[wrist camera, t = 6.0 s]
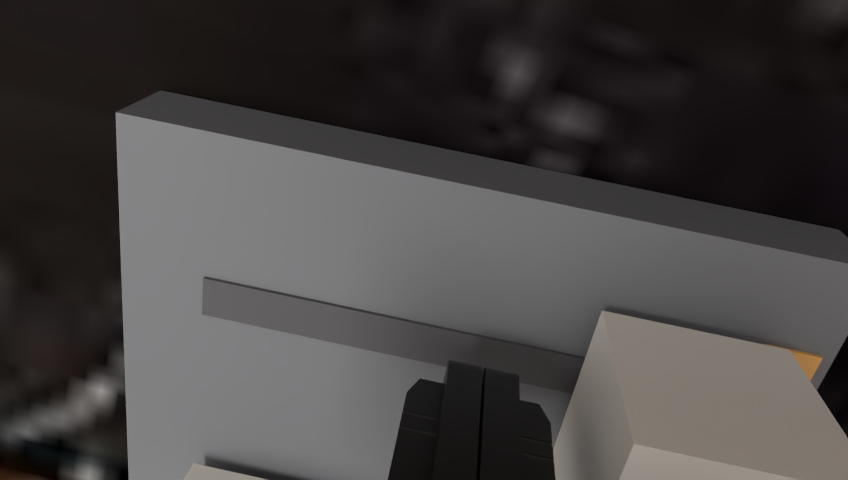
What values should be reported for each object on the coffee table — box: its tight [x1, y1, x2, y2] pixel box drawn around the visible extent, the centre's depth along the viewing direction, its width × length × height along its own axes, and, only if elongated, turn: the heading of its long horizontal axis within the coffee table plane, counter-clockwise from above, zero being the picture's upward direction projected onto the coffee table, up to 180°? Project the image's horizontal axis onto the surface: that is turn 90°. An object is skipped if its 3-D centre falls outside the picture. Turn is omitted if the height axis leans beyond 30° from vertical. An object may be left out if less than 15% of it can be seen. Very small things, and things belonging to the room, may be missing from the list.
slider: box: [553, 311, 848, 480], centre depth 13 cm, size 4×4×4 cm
